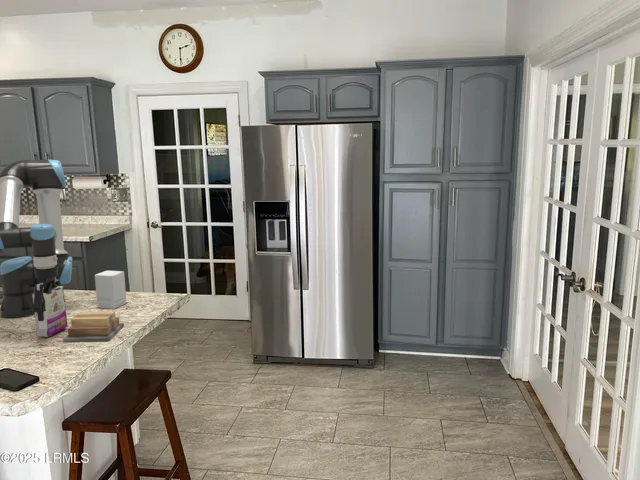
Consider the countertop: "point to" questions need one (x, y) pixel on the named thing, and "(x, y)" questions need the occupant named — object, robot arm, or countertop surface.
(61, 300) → the candy bar box
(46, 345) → the countertop surface
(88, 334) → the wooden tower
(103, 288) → the supplement box
